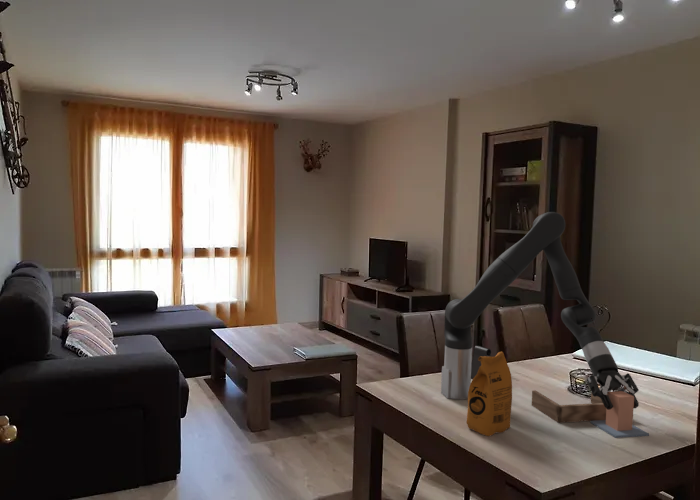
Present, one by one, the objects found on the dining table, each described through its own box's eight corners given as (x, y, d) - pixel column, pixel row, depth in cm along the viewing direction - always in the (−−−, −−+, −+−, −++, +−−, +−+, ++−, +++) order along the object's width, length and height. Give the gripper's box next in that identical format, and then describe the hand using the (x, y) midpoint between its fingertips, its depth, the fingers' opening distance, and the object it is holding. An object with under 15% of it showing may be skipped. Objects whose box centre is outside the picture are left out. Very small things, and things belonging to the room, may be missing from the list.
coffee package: (460, 426, 153) (463, 353, 151) (488, 418, 160) (491, 348, 158) (487, 439, 145) (491, 361, 143) (515, 429, 152) (519, 355, 150)
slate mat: (615, 437, 148) (615, 435, 148) (590, 422, 158) (590, 420, 158) (648, 435, 150) (648, 433, 150) (621, 420, 161) (621, 418, 161)
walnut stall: (557, 422, 158) (558, 406, 157) (531, 405, 172) (532, 390, 172) (624, 418, 162) (625, 403, 162) (593, 402, 177) (594, 387, 176)
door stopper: (483, 373, 206) (484, 344, 205) (495, 378, 201) (496, 347, 200) (467, 377, 201) (468, 346, 200) (479, 381, 196) (480, 350, 195)
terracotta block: (617, 430, 151) (619, 397, 151) (605, 424, 156) (607, 391, 155) (632, 429, 152) (634, 396, 152) (620, 423, 157) (621, 390, 156)
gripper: (585, 353, 159) (608, 403, 148) (625, 352, 162) (651, 401, 151) (573, 365, 164) (595, 414, 154) (613, 364, 167) (637, 412, 157)
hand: (623, 408), depth 152 cm, fingers open, 8 cm apart
